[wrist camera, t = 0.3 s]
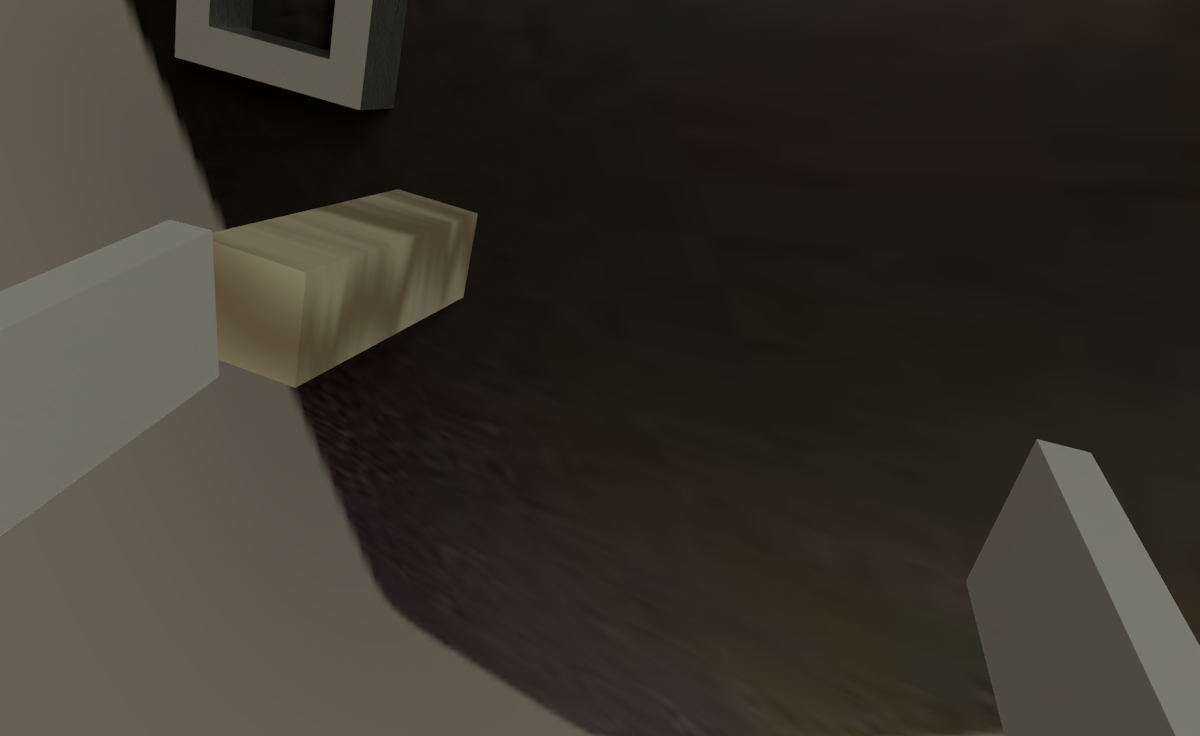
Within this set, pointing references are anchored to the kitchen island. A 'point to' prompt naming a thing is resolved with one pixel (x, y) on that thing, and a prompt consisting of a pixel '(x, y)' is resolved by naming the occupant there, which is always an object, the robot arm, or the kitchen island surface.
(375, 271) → the peg
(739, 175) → the kitchen island surface
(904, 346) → the kitchen island surface
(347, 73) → the grey flat slotted block
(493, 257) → the kitchen island surface
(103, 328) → the robot arm
